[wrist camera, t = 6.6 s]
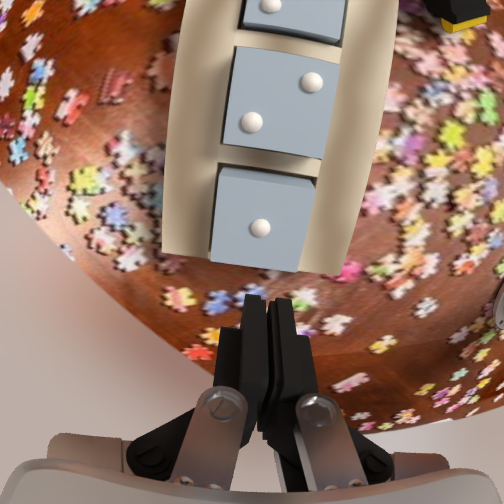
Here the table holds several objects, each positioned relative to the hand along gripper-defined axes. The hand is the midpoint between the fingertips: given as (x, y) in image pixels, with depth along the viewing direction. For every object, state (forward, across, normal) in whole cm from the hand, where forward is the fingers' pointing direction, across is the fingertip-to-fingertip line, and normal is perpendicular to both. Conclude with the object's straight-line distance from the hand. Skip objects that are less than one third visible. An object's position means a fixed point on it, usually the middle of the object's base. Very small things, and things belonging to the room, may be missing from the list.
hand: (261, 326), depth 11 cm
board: (+15, 0, -8) cm, 17 cm away
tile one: (+12, 0, 0) cm, 12 cm away
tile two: (+12, 0, -8) cm, 14 cm away
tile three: (+13, 0, -16) cm, 21 cm away
